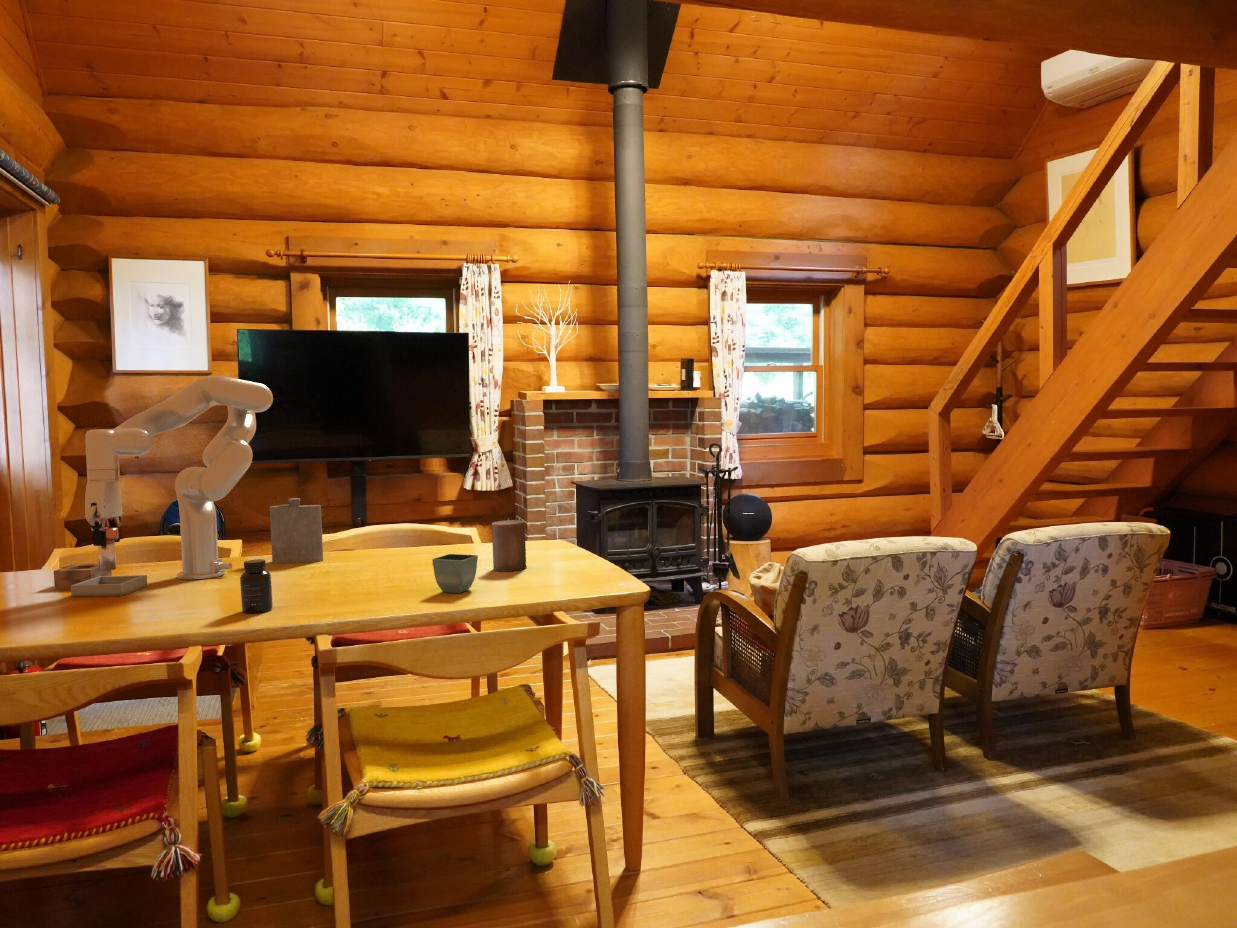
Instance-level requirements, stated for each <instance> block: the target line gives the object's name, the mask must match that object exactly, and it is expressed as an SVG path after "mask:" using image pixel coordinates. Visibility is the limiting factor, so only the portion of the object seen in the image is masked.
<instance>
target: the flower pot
mask: <svg viewBox="0 0 1237 928" xmlns="http://www.w3.org/2000/svg"><path fill="white" fill-rule="evenodd" d="M478 558H479V556H478V555H476V554H459V553H447V554H444V555H440V556H438V557H435V558H432V559H431V560H432V567H433V574H434V578H435V582H436V585H438V587H439V589H440V590H441V591H442V593H453V594H461V593H463V592H466V591H469V590H470V588H471V587H472V585H473V583H474V581H475V579H476V575H477V567H478Z"/></svg>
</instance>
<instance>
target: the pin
mask: <svg viewBox="0 0 1237 928" xmlns="http://www.w3.org/2000/svg"><path fill="white" fill-rule="evenodd" d="M104 530H106V545H105V546H97V553H98V556H97V557H98V564H99V571H109V570H111V571H114V570H116V569H117V559H116V558H117V555H116V542H115V540H117V539H118V527H108V526H106V527H104Z"/></svg>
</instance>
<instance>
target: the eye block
mask: <svg viewBox="0 0 1237 928" xmlns="http://www.w3.org/2000/svg"><path fill="white" fill-rule="evenodd" d="M98 576H113V575H112V570H109V571H99V563H76V564H72V565H69V566H65V567H61V568H58V569H54V570H53V581H54V582H53V583H54V590H63V589H65V590H66V589H68V590H71V585H74V584H77V583H80V582H83V581H86V580H89V579H92V578H95V577H98Z"/></svg>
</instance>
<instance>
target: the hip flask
mask: <svg viewBox="0 0 1237 928" xmlns="http://www.w3.org/2000/svg"><path fill="white" fill-rule="evenodd" d="M287 501H288V502H289V503H288V504H278V505H271V506H269V519H270V521H269V522H270V541H271V559H272V560H271V562H272V563H277V564H279V563H284V564H286V563H292V564H293V563H294V564H295V563H318V562H319V563H320V562H323V561H324V545H323V525H322V523H323V522H322V505H321V504H314V505H313V504H310V505H309V504H307V505H304V504H303V505H300V504H301V503H300V502H301V498H300V497H299V498H298V497H292V498H288V499H287Z"/></svg>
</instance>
